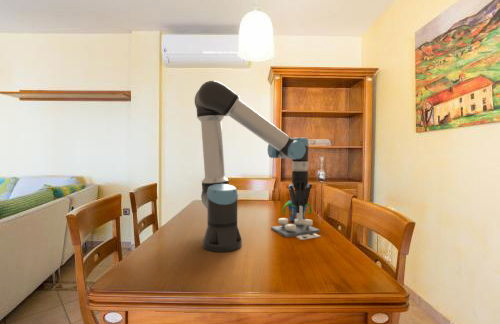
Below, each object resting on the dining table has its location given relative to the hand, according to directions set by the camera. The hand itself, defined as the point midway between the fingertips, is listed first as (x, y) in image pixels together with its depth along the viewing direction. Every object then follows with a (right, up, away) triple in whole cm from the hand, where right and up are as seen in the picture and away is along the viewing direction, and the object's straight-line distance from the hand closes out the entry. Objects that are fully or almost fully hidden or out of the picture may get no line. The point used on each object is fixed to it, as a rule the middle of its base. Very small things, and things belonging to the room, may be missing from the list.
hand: (299, 219), depth 134 cm
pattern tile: (+1, -5, -14) cm, 15 cm away
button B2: (0, -4, 0) cm, 4 cm away
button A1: (-6, -4, -9) cm, 12 cm away
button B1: (+3, -3, -6) cm, 7 cm away
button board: (-3, -4, -5) cm, 7 cm away
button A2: (-8, -3, -4) cm, 9 cm away
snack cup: (+1, -4, +13) cm, 14 cm away
